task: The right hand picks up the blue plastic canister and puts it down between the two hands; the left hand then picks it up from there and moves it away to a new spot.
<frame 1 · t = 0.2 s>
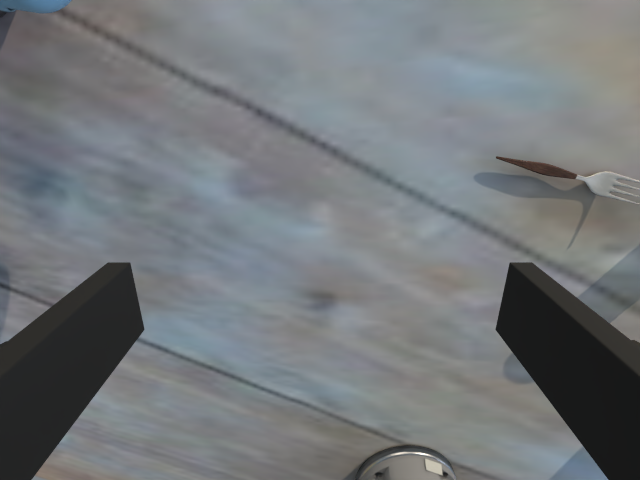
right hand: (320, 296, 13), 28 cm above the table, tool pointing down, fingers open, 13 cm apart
fork: (562, 173, 39), on the table
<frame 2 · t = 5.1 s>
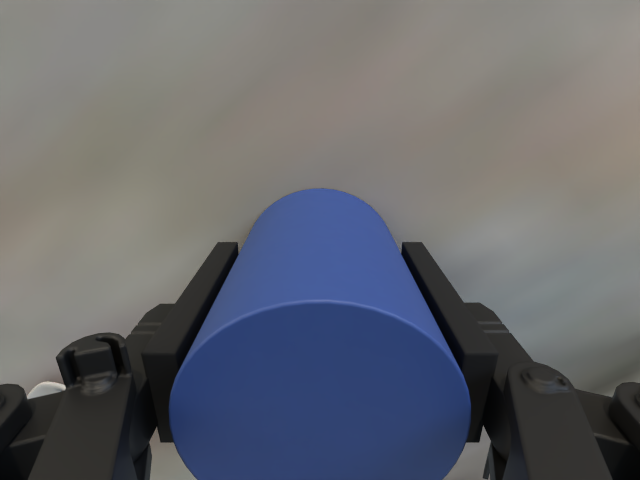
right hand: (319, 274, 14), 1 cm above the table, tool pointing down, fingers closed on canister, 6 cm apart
canister: (319, 260, 16), on the table, touching right hand
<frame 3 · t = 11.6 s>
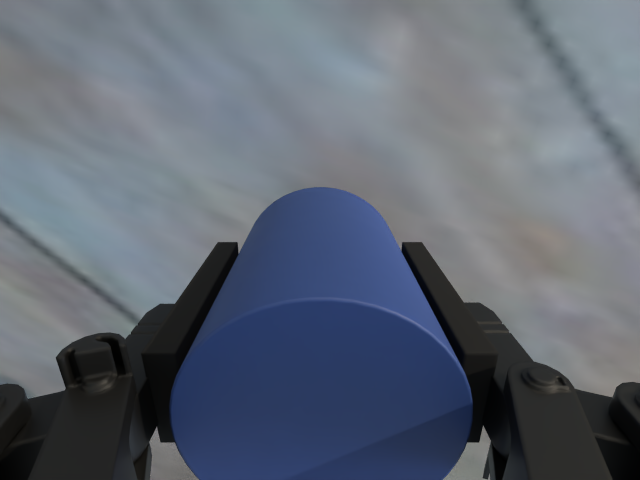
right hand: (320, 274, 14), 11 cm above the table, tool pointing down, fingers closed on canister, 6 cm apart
canister: (320, 259, 16), point 9 cm above the table, touching right hand
when the right hand's fingers open (2 cm above the table, at t = 18.3 s): canister drops 1 cm, on the table.
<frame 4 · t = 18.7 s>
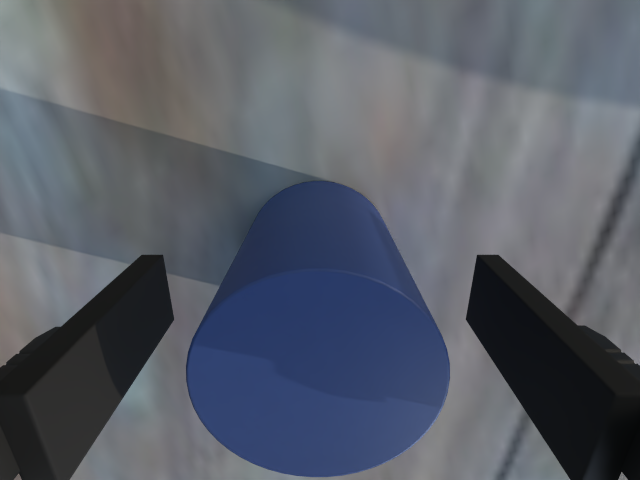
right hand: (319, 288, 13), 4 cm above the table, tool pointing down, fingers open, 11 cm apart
canister: (318, 249, 17), on the table
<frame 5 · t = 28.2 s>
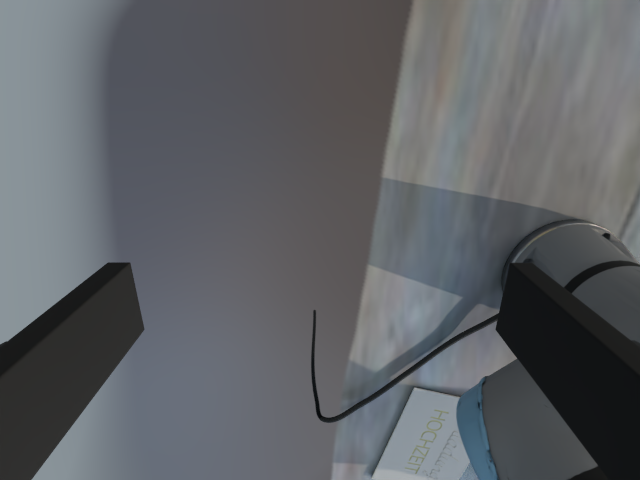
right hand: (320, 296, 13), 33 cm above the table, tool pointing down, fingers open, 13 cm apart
invitation card: (433, 442, 61), on the table
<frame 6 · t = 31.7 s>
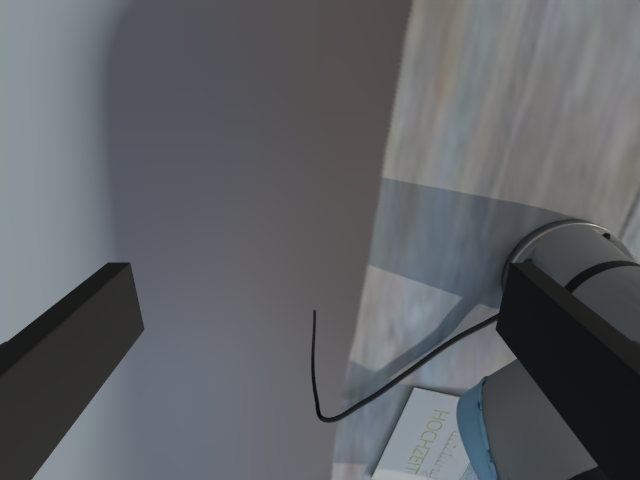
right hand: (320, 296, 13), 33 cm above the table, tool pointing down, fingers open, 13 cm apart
invitation card: (433, 442, 61), on the table
when the left hand's fingers open (2 cm above the table, at t = 35.0 s): canister drops 1 cm, on the table.
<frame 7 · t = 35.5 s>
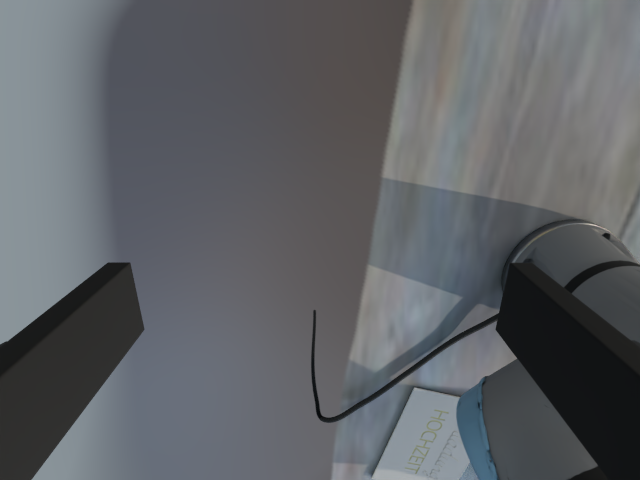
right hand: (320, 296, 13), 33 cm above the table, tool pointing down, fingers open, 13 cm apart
invitation card: (433, 442, 61), on the table
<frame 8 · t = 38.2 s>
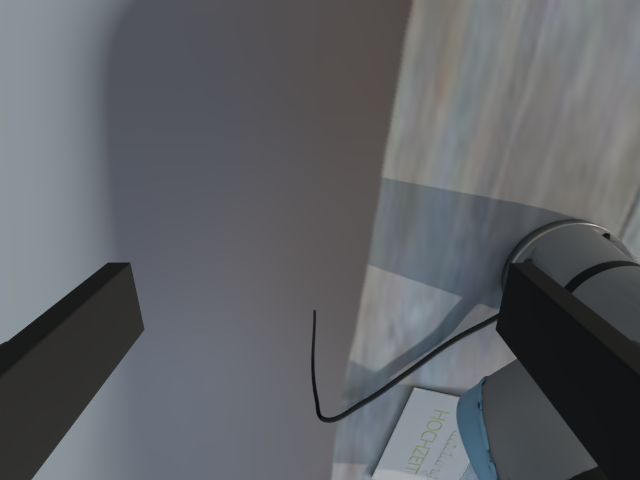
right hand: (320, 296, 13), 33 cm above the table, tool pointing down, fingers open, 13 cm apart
invitation card: (433, 442, 61), on the table
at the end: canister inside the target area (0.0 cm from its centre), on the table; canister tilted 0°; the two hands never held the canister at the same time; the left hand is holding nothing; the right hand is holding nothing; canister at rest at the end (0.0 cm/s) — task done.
